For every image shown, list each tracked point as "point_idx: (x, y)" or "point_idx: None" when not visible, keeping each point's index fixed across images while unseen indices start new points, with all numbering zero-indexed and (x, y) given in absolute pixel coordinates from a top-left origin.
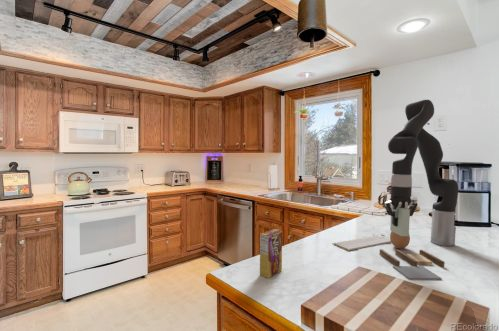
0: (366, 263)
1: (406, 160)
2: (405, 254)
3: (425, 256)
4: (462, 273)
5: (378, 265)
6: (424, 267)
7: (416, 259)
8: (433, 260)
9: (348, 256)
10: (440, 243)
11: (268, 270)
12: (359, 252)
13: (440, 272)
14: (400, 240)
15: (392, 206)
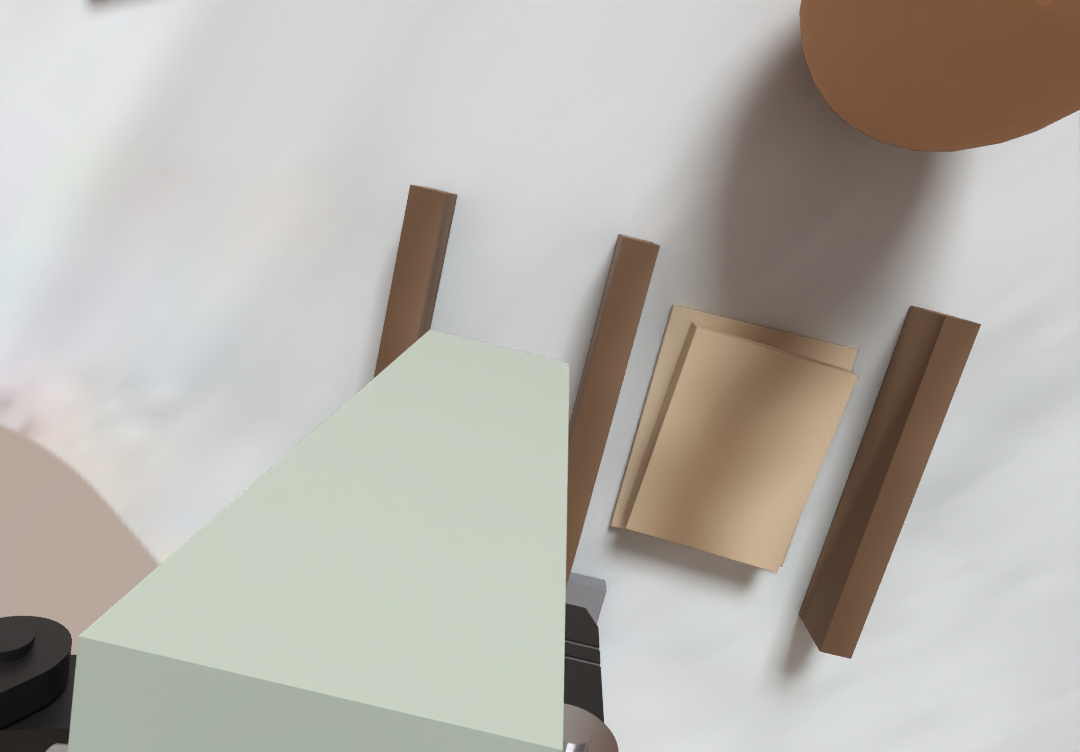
0: (117, 365)
1: None
2: (607, 406)
3: (886, 412)
4: (868, 735)
5: (213, 433)
6: (597, 616)
7: (665, 486)
8: (844, 532)
9: (14, 147)
10: None
11: None
12: (222, 54)
13: (689, 678)
14: (851, 114)
15: (105, 714)
